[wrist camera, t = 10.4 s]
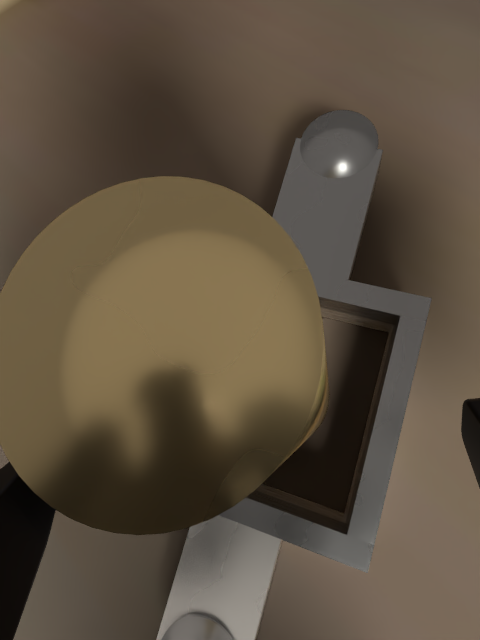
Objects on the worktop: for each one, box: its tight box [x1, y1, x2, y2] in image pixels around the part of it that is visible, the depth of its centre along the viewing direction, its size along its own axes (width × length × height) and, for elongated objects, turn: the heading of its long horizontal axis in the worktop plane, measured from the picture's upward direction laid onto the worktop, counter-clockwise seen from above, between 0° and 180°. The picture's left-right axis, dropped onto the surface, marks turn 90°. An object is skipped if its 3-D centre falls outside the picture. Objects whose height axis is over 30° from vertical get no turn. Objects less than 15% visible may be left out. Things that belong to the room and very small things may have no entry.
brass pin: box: [0, 176, 329, 535], centre depth 11 cm, size 4×4×13 cm
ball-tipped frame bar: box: [156, 110, 432, 640], centre depth 16 cm, size 21×9×3 cm, turn 163°
